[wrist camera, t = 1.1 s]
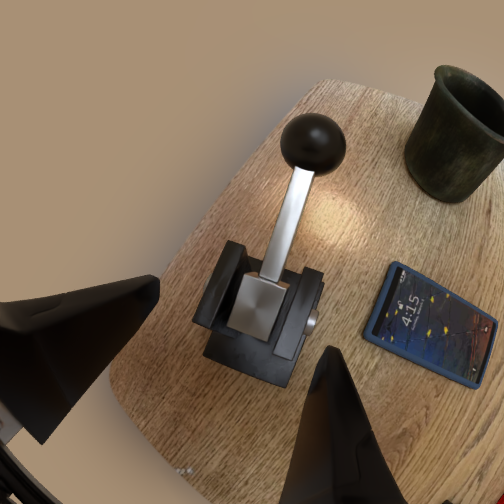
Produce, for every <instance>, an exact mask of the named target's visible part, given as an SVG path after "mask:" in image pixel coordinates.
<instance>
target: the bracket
mask: <svg viewBox="0 0 504 504" xmlns="http://www.w3.org/2000/svg"><path fill="white" fill-rule="evenodd" d="M262 262H263V261H261V260H259V259H256V258H253V257H250V256H248V254H247V250H246V246H244V245H242V244H239V243H236V242H233V241H230V240H228V241H227V242H226V244H225V247H224V249H223V251H222V253H221V255H220V258H219V260H218V262H217V264H216V267H215V269H214V271H213V273H211V274H210V275H209V277H208V278H207V280H206V282H205V285H204V288H203V296H202V298H201V300H200V303H199V305H198V307H197V310H196V312H195V314H194V317H193V319H192V322H194V323H196V324H198V325H200V326H203V327H205V328H207V329H210V330H212V333H211V336H210V338H209V340H208V343H207V345H206V348H205V350H204V352H203V356H204V357H207V358H209V359H211V360H213V361H216V362H218V363H220V364H223V365H225V366H227V367H230V368H232V369H234V370H237V371H239V372H242V373H244V374H247V375H249V376H252V377H255V378H257V379H260V380H263V381H265V382H268V383H271V384H274V385H276V386H279V387H282V388H286V387H287V384H288V382H289V379H290V377H291V375H292V372H293V370H294V367H295V365H296V362H297V360H298V357H299V355H300V352H301V349H302V347H303V344H304V341H305V339H306V336H310V335H311V333H312V331H313V329H314V327H315V324H316V321H317V318H318V314H319V311H317V310H316V308H317V305H318V302H319V299H320V296H321V293H322V290H323V287H324V284H325V283H324V282H321V281H322V278H323V275H324V273H323V272H320V271H317V270H314V269H311V268H308V267H304V269H303V272H302V275H301V274H298V273H295V272H293V271H290V270H287V269H284V272H283V275H282V277H281V280H280V281H282V282H285V283H287V284H290V287H289V290H288V293H287V296H286V298H285V301H284V304H283V307H282V309H281V312H280V315H279V317H278V320H277V323H276V325H275V328H274V330H273V332H272V334H271V336H270V338H269V340H268V341H267V342H266V341H264V340H261V339H258V338H256V337H253V336H251V335H248V334H245V333H243V332H240V331H238V330H235V329H233V328H230V327H228V326H227V322H228V319H229V316H230V313H231V310H232V308H233V305H234V302H235V299H236V296H237V293H238V290H239V287H240V284H241V281H242V278H243V275H244V274H245V273H250V272H257V273H259V271H260V268H261V265H262Z"/></svg>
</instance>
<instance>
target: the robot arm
mask: <svg viewBox="0 0 504 504" xmlns="http://www.w3.org/2000/svg"><path fill="white" fill-rule="evenodd" d="M159 297H160V280H159V278H157V277H155V276H152V275H144V276H140V277H135V278H131V279H126V280H122V281H117V282H113V283H108V284H103V285H99V286H94V287H90V288H85V289H80V290H76V291H72V292H67V293H66V294H65V293H62V294H58V295H53V296H48V297H42V298H35V299H28V300H20V301H13V302H0V504H16V503H15V502H14V501H13V500H12V499H10V498H9V497H10V495H11V494H12V493H13V494H14V495H15V496H16V497H17V498H18V499H19V500H20V501H21V502H22V503H23V504H62V503H61V502H60V501H59V500H58V499H57V498H55V497H54V496H53V495H52V494H51V493H50V492H49V491H48V490H47V489H46V488H45V487H44V486H43V485H42V484H40V483H39V482H38V481H37V480H36V479H35V478H34V477H33V476H32V475H31V474H30V472H29V471H28V470H27V469H26V468H25V467H24V466H23V465H22V464H21V463H20V462H19V460H18V459H17V458H16V457H15V456H14V455H13V454H12V452H11V451H10V450H9V449H8V447H7V446H6V444H7V443H8V442H9V441H10V440H11V439H12V438H13V437H14V436H15V435H16V434H17V433H18V432H19V431H20V429H22V428H23V427H24V428H25V429H26V430H27V431H28V432H29V433H30V434H31V435H32V436H33V437H34V438H35V439H36V440H37V441H38V442H39V443H40V444H41V445H43V444H44V443H45V442H46V440H47V439H48V438H49V436H50V435H51V434H52V433H53V431H54V430H55V429H56V428H57V426H58V425H59V424H60V423H61V421H62V420H63V419H64V417H65V416H66V415H67V414H68V413H69V412H70V410H71V408H72V407H73V406H74V405H75V404H76V403H77V401H78V400H79V399H80V398H81V397H82V395H83V394H84V393H85V392H86V391H87V389H88V388H89V387H90V386H91V385H92V383H93V382H94V381H95V380H96V379H97V377H98V376H99V375H100V374H101V373H102V371H103V370H104V369H105V368H106V367H107V366H108V365H109V363H110V362H111V361H112V360H113V359H114V358H115V356H116V355H117V354H118V353H119V352H120V351H121V349H122V348H123V347H124V346H125V345H126V344H127V343H128V341H129V340H130V339H131V338H132V337H133V336H134V335H135V333H136V332H137V331H138V330H139V328H140V327H141V325H142V324H143V323H144V321H145V320H146V318H147V317H148V315H149V314H150V313H151V311H152V310H153V308H154V307H155V305H156V304H157V303H158V301H159ZM371 429H372V428H371V425H370V422H369V420H368V417H367V415H366V412H365V409H364V407H363V404H362V402H361V399H360V397H359V394H358V392H357V389H356V387H355V384H354V382H353V379H352V377H351V375H350V372H349V370H348V367H347V365H346V363H345V360H344V358H343V355H342V353H341V351H340V349H339V348H336V347H333V346H330V345H329V346H327V347H326V349H325V350H324V352H323V354H322V356H321V358H320V359H319V361H318V363H317V366H316V369H315V372H314V375H313V378H312V381H311V384H310V388H309V391H308V394H307V396H306V400H305V403H304V406H303V411H302V415H301V420H300V424H299V429H298V433H297V437H296V442H295V446H294V450H293V454H292V458H291V462H290V466H289V469H288V473H287V477H286V480H285V484H284V487H283V491H282V494H281V497H280V501H279V504H408V503H407V502H406V500H405V499H404V497H403V496H402V494H401V492H400V490H399V488H398V486H397V484H396V482H395V480H394V478H393V476H392V474H391V472H390V470H389V468H388V466H387V463H386V461H385V459H384V457H383V455H382V453H381V450H380V448H379V445H378V443H377V440H376V438H375V435H374V433H373V430H371Z"/></svg>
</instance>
